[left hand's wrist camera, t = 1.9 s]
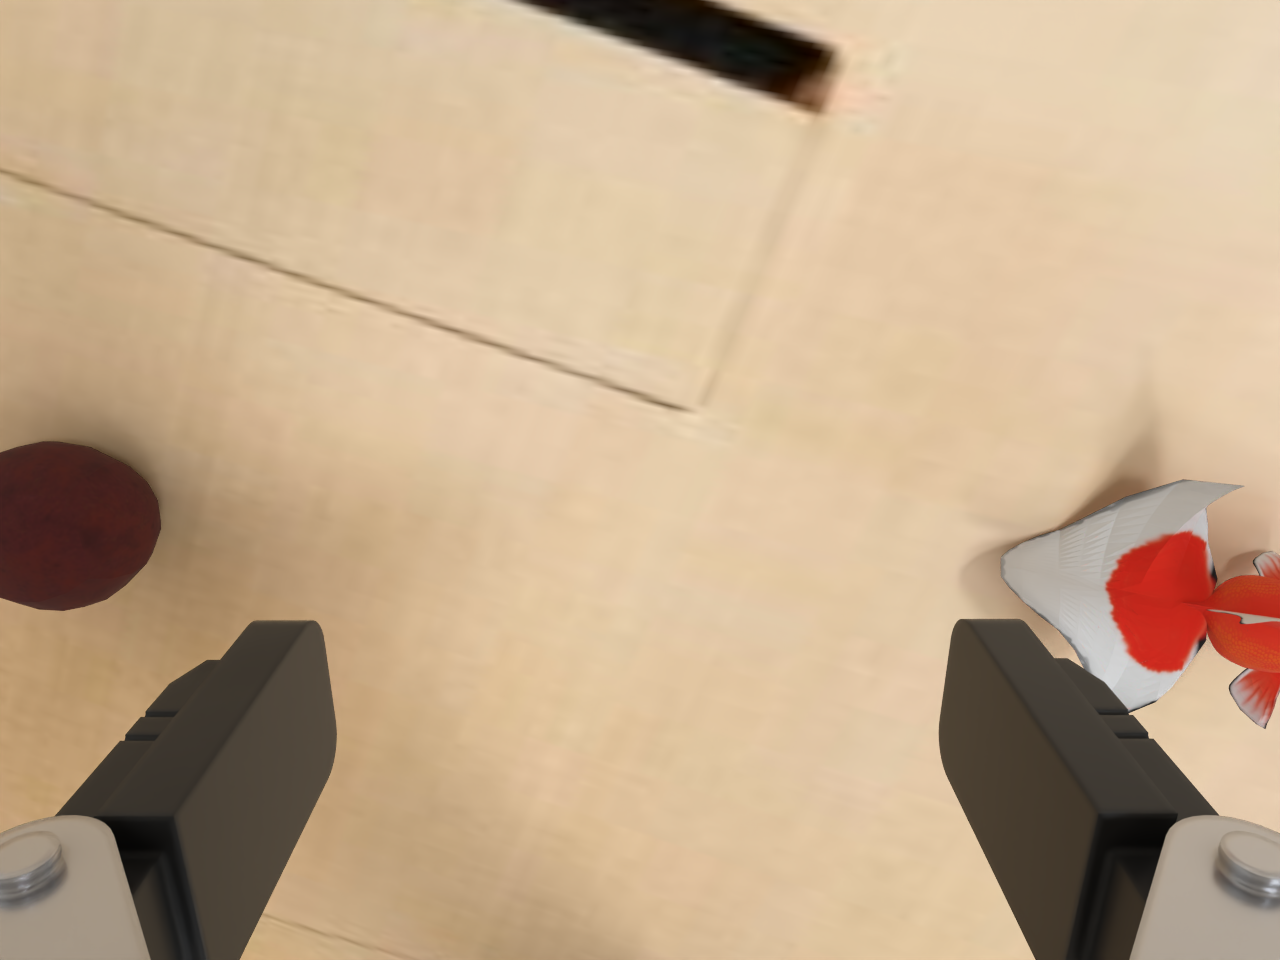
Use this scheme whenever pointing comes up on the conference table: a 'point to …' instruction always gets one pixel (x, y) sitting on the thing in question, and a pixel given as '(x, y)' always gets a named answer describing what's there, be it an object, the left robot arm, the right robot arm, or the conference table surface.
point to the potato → (71, 525)
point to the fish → (1153, 596)
